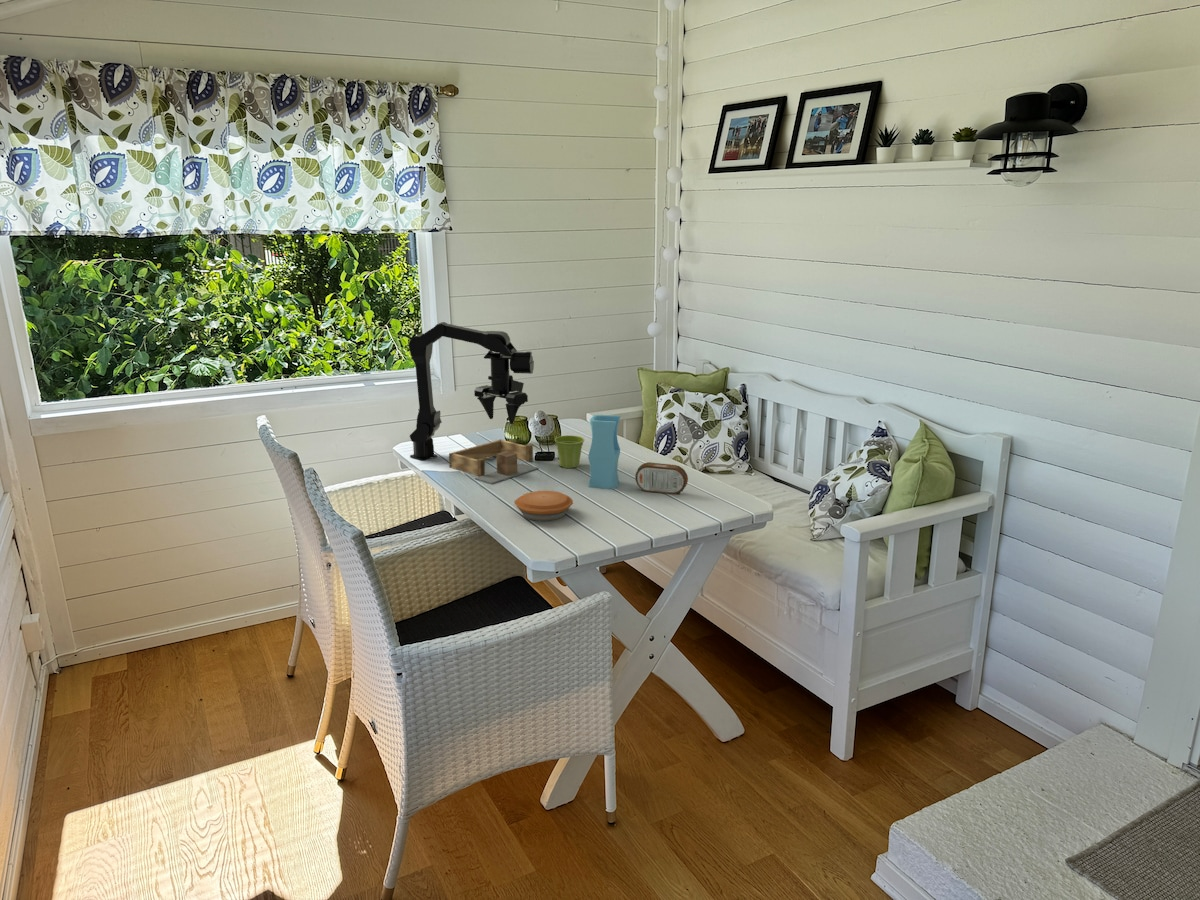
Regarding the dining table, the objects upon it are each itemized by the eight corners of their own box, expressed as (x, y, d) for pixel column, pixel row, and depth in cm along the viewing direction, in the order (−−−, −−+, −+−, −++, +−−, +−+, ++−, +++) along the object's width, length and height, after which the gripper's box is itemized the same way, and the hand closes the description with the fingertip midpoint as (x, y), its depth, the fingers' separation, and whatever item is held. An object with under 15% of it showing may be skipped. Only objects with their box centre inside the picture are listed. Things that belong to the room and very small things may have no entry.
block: (497, 472, 268) (496, 454, 266) (507, 469, 271) (506, 451, 269) (507, 475, 265) (506, 456, 263) (517, 472, 268) (517, 453, 266)
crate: (448, 467, 274) (448, 451, 272) (501, 452, 290) (501, 437, 289) (480, 476, 265) (480, 460, 263) (532, 460, 282) (532, 445, 280)
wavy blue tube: (614, 489, 255) (615, 422, 249) (588, 487, 256) (588, 420, 251) (619, 480, 262) (620, 415, 257) (593, 479, 264) (594, 414, 258)
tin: (687, 493, 252) (688, 465, 250) (685, 496, 249) (686, 468, 247) (636, 488, 256) (637, 460, 253) (634, 491, 253) (634, 463, 250)
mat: (474, 479, 263) (474, 477, 263) (522, 464, 277) (522, 463, 277) (491, 484, 258) (491, 482, 258) (538, 469, 273) (538, 467, 273)
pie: (542, 500, 245) (542, 483, 244) (584, 512, 236) (584, 495, 234) (502, 515, 234) (502, 497, 232) (545, 528, 224) (545, 510, 223)
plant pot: (586, 462, 281) (586, 435, 278) (582, 470, 272) (582, 443, 269) (557, 461, 282) (556, 434, 279) (552, 469, 273) (552, 442, 270)
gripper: (539, 372, 274) (540, 421, 278) (498, 365, 285) (499, 412, 290) (514, 378, 266) (515, 427, 270) (472, 370, 277) (474, 418, 281)
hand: (501, 421), depth 278 cm, fingers open, 9 cm apart
